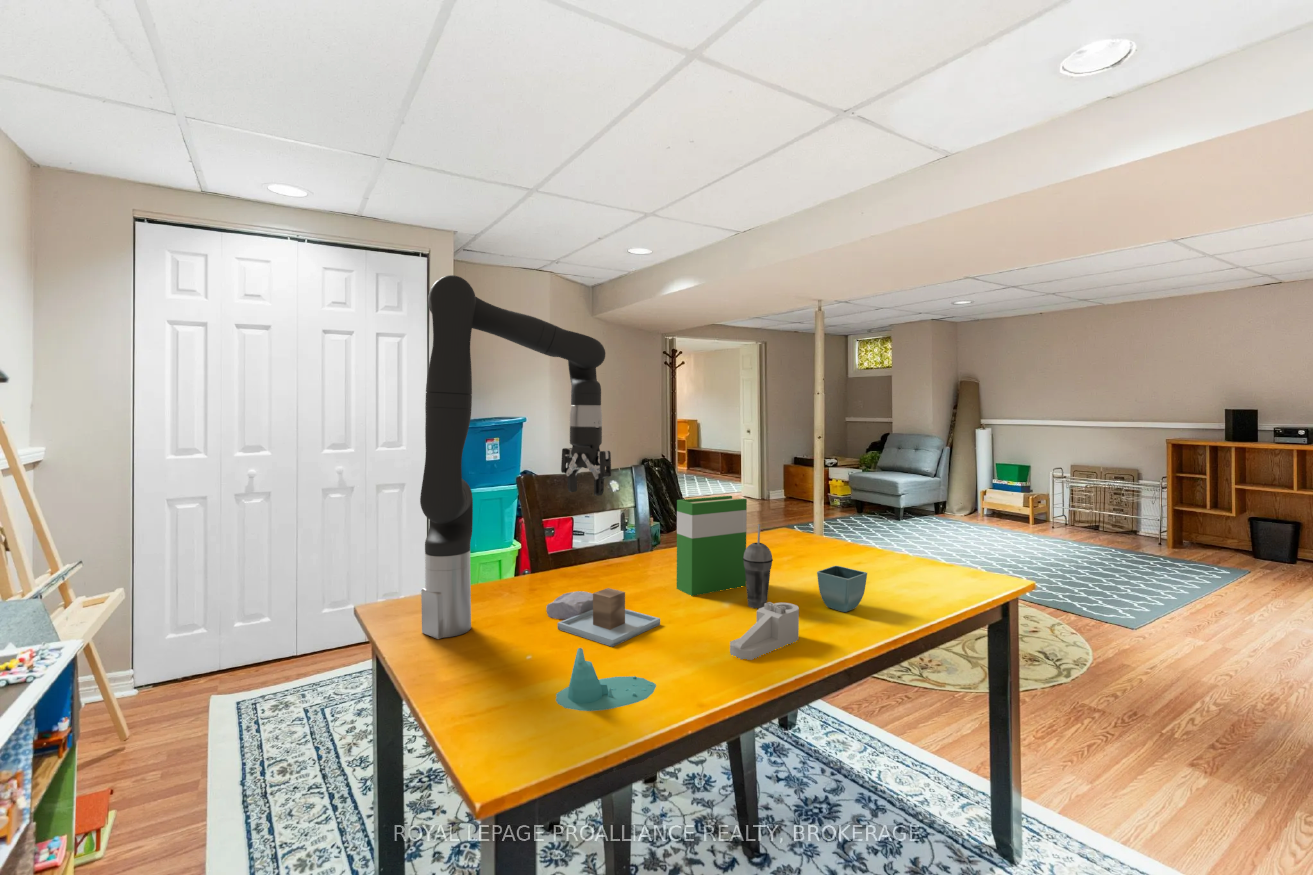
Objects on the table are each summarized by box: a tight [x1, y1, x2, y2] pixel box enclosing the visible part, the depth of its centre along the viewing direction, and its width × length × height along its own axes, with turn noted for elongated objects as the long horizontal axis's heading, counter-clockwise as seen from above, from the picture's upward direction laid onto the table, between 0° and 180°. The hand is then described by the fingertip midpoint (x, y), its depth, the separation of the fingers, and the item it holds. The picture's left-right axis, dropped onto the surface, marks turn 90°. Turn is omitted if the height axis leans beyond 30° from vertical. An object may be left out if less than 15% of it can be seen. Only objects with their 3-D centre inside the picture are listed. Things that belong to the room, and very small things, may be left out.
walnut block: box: [592, 587, 626, 630], centre depth 131 cm, size 5×5×7 cm
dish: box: [557, 608, 661, 648], centre depth 131 cm, size 16×16×1 cm
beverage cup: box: [743, 523, 774, 610], centre depth 145 cm, size 7×7×20 cm
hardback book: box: [676, 495, 748, 597], centre depth 160 cm, size 18×7×24 cm, turn 120°
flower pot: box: [816, 565, 868, 613], centre depth 144 cm, size 9×9×9 cm
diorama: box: [555, 647, 657, 712], centre depth 100 cm, size 12×20×9 cm, turn 112°
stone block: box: [546, 590, 593, 620], centre depth 141 cm, size 12×5×10 cm
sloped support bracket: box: [729, 601, 800, 661], centre depth 121 cm, size 6×18×8 cm, turn 130°
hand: (585, 493), depth 140 cm, fingers open, 8 cm apart
